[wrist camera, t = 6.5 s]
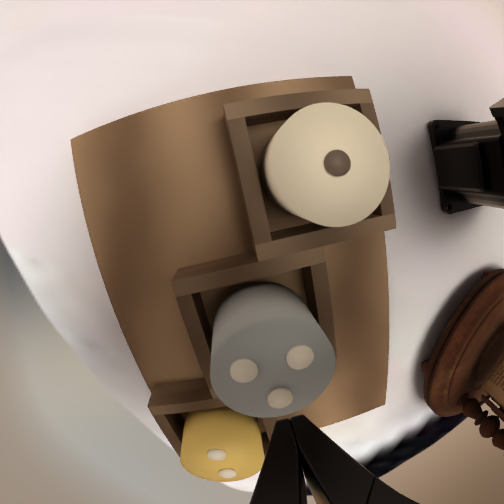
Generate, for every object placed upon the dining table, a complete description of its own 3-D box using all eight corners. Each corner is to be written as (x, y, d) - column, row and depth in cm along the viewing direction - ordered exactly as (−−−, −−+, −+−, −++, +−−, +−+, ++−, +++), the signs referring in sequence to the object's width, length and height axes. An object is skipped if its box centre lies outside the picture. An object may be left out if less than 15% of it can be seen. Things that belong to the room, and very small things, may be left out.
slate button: (301, 271, 13) (331, 305, 9) (313, 353, 14) (339, 402, 10) (201, 294, 13) (192, 338, 9) (227, 374, 14) (229, 429, 10)
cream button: (339, 119, 13) (377, 98, 9) (357, 206, 14) (400, 214, 10) (250, 131, 13) (260, 108, 9) (270, 225, 14) (288, 240, 10)
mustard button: (248, 386, 16) (255, 435, 12) (263, 432, 17) (271, 477, 13) (175, 398, 16) (166, 446, 12) (199, 442, 17) (196, 486, 13)
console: (343, 82, 14) (368, 62, 11) (378, 395, 19) (396, 421, 16) (80, 142, 14) (49, 134, 10) (188, 442, 19) (185, 473, 15)
